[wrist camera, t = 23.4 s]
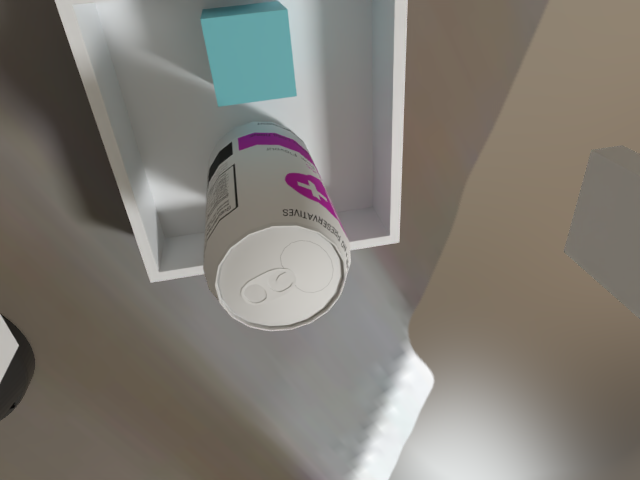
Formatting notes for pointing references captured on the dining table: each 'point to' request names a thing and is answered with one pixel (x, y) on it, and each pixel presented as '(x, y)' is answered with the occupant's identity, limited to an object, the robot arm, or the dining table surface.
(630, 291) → the robot arm
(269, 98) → the cube
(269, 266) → the supplement can
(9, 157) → the dining table surface
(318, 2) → the tote
